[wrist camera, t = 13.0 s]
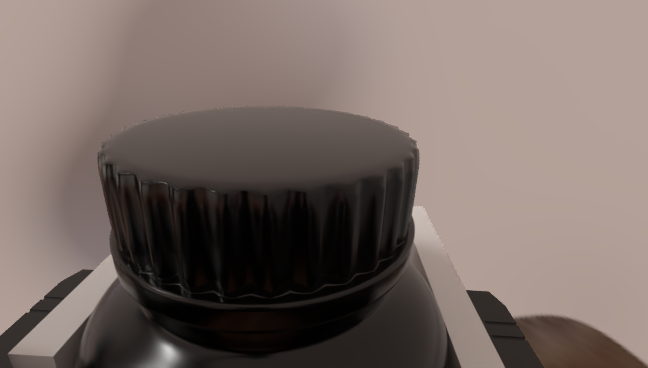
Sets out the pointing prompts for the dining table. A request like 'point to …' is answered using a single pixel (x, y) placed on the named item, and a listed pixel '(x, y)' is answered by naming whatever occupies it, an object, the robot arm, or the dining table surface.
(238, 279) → the supplement bottle
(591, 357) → the dining table surface
